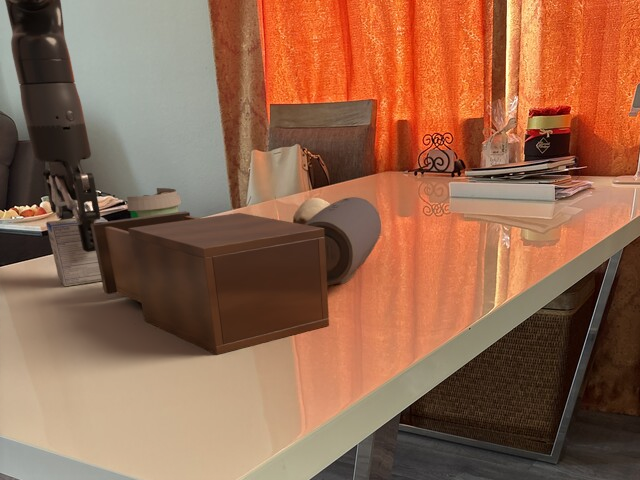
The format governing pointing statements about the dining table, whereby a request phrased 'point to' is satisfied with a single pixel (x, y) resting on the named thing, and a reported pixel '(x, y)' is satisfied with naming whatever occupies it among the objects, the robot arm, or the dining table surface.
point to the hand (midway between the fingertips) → (82, 247)
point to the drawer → (123, 251)
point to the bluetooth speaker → (347, 236)
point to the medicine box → (72, 253)
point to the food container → (154, 203)
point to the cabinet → (231, 279)
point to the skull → (309, 210)
